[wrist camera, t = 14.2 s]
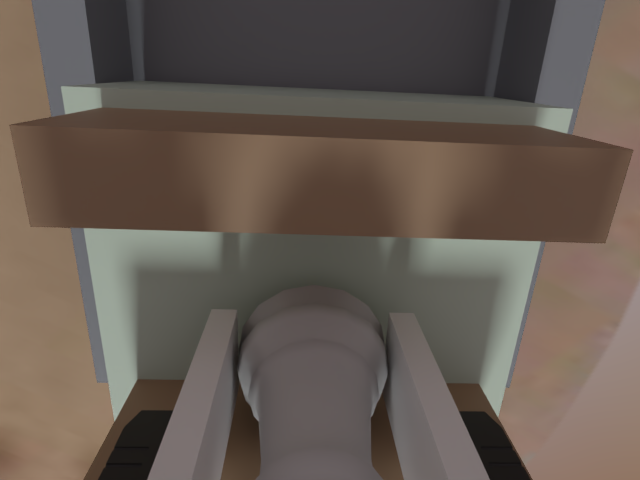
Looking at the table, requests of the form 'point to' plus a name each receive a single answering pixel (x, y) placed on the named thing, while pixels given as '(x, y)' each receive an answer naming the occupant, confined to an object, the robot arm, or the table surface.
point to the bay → (320, 57)
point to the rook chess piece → (313, 383)
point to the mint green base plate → (309, 222)
